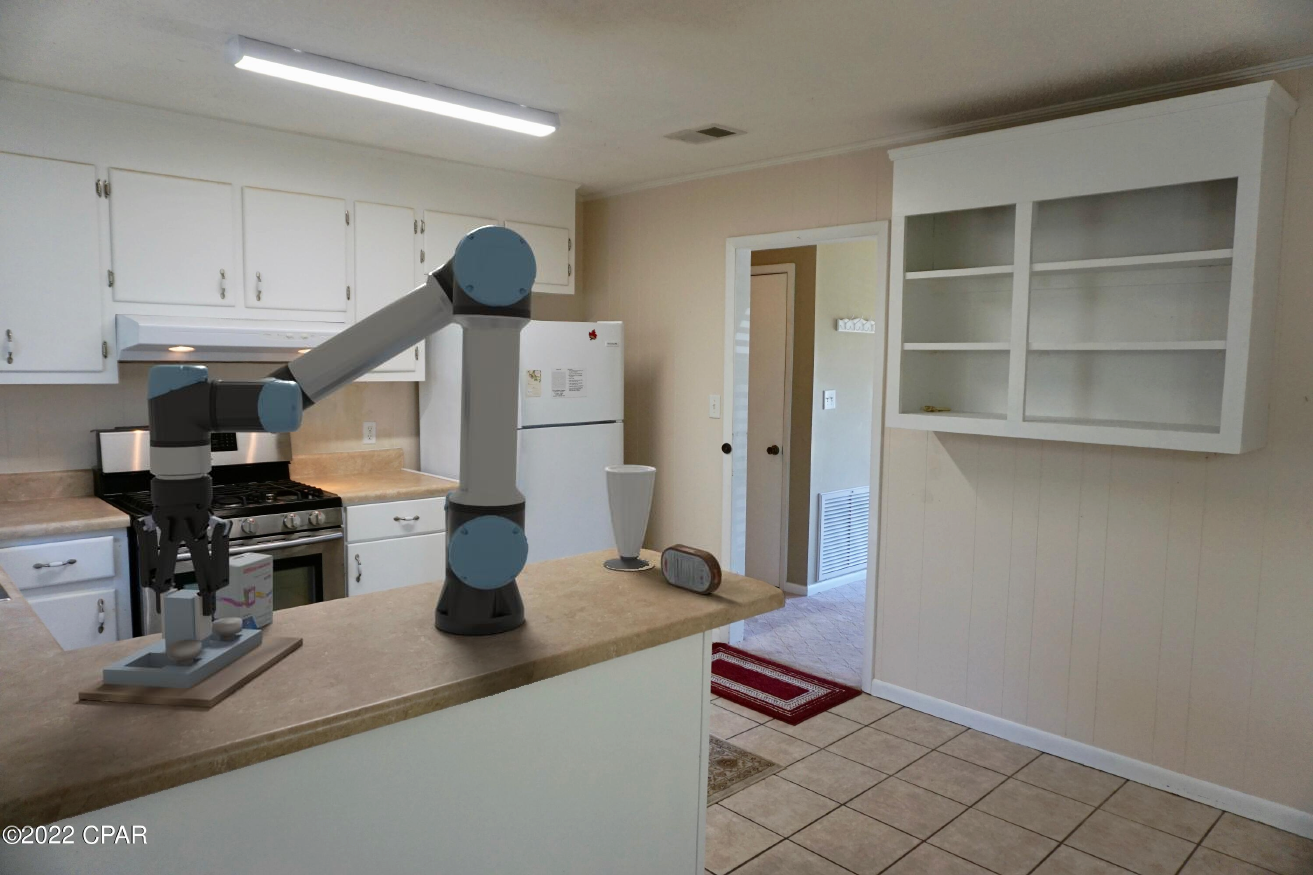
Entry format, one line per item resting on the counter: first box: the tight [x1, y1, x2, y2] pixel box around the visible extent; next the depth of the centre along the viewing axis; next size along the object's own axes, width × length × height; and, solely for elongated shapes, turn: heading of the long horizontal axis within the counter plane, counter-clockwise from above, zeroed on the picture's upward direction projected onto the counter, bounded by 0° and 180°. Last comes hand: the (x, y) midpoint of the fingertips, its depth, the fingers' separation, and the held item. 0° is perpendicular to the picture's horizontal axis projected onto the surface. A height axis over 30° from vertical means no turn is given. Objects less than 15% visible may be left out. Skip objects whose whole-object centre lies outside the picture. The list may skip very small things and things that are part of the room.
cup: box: [603, 464, 658, 569], centre depth 186 cm, size 12×12×22 cm
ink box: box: [213, 552, 274, 630], centre depth 139 cm, size 9×5×12 cm, turn 168°
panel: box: [102, 588, 263, 688], centre depth 121 cm, size 12×18×10 cm, turn 176°
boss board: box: [78, 617, 304, 708], centre depth 121 cm, size 18×24×6 cm
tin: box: [660, 543, 723, 595], centre depth 168 cm, size 15×3×8 cm, turn 43°
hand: (187, 635), depth 121 cm, fingers open, 4 cm apart
